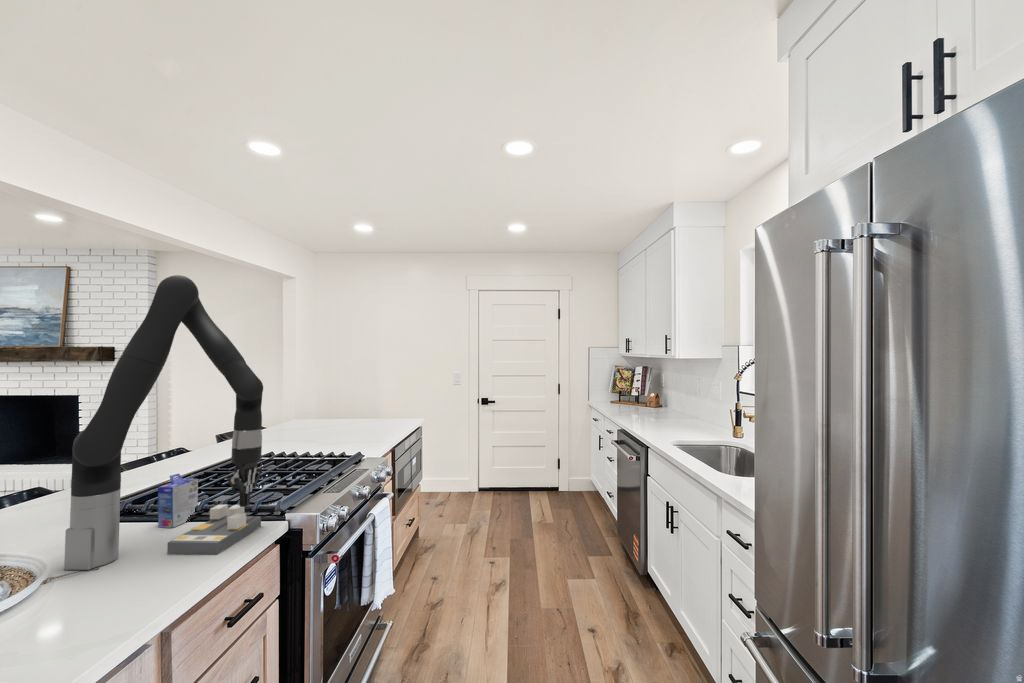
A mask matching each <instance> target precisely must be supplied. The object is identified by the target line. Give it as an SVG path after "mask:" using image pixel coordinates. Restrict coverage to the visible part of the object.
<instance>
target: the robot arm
mask: <svg viewBox="0 0 1024 683" xmlns="http://www.w3.org/2000/svg"><path fill="white" fill-rule="evenodd" d="M199 294H200V293H199V289H198V286H197V285H196V283H195V282H194V281H193V280H192V279H190V278H189V277H188V276H185V275H179V274H178V275H177V274H176V275H171V276H168V277H165V278H164V279H163V280H161V281H160V283H159V284H158V285H157V288H156V290H155V292H154V296H153V299H152V301H151V304H150V306H149V308H148V311H147V313H146V315H145V317H144V319H143V321H142V322H141V324H140V325H139V326H138V329H137V330H135V332H134V334H133V335H132V337H131V338H130V340H129V342H128V343H127V345H126V347H125V349H124V350H123V351H122V353H121V355H120V356H119V358H118V361H117V362H116V364H115V366H114V368H113V370H112V372H111V375H110V377H109V378H108V379H109V380H108V381H107V384H106V388H105V390H104V394H103V397H102V399H101V403H100V404H99V407H98V409H97V410H96V412H95V414H94V415H93V417H92V418H91V419H90V421H89V423H88V424H87V425H86V427H85V428H84V429H83V430H82V431H80V432H79V433H78V434H77V435H76V437H75V438H74V440H73V444H72V449H71V450H72V457H71V458H72V459H71V479H70V480H71V481H70V482H71V483H70V486H71V487H70V509H69V510H70V512H69V528H67V529H65V537H64V540H65V541H64V542H65V543H64V565H63V566H64V567H63V569H64V571H65V570H69V571H70V570H71V571H74V570H75V571H76V570H79V571H89V570H91V569H94V568H97V567H101V566H104V565H108V564H110V563H112V562H114V561H116V560H117V559H118V558H119V555H120V554H119V552H120V551H119V550H120V549H119V547H120V512H121V487H122V486H121V485H122V473H121V472H122V468H121V467H122V466H121V465H122V463H121V462H122V450H123V446H124V443H125V441H126V438H127V435H128V432H129V430H130V427H131V424H132V422H133V420H134V417H135V416H136V414H137V412H138V410H139V409H140V407H141V406H142V404H143V403H144V401H145V400H146V398H148V395H149V394H150V392H151V391H152V389H153V387H154V385H155V383H156V382H157V380H158V378H159V376H160V375H161V372H162V371H163V369H164V366H165V365H166V362H167V360H168V357H169V354H170V351H171V348H172V346H173V342H174V338H175V337H176V336H175V335H176V332H177V330H178V328H179V326H180V325H181V323H182V324H183V325H184V326H185V327H186V329H187V330H188V331H189V332H190V333H191V334H192V336H193V337H194V339H195V340H196V341H197V343H198V344H199V346H200V348H201V349H202V350H203V352H204V353H205V354H206V356H207V357H208V359H209V360H210V361H211V362H212V364H213V365H214V367H215V368H216V369H217V370H218V371H219V372H220V374H222V376H223V377H224V378H225V380H226V381H227V383H228V384H229V386H230V387H231V389H232V390H233V392H234V393H235V414H234V419H233V433H232V439H231V440H232V441H231V459H230V461H231V463H232V464H234V465H235V467H234V470H233V473H234V474H233V476H232V477H229V478H228V479H227V481H228V483H229V485H230V487H231V489H232V490H233V492H234V493H235V494H239V503H238V505H239V506H240V507H245V508H246V507H248V506H250V504H251V492H252V491H253V489H255V488H256V487H257V484H258V482H259V479H260V477H261V475H262V471H263V469H262V468H258V462H260V461H262V452H263V451H262V446H263V445H262V444H263V432H262V428H263V427H262V426H263V425H262V423H263V415H262V414H263V413H262V400H263V391H264V385H263V384H264V383H263V382H262V381H261V379H260V378H259V377H258V375H257V374H255V372H254V371H253V370H252V368H250V366H249V365H248V363H246V360H245V358H244V357H243V355H242V354H241V353H240V352H239V349H237V347H236V346H235V345H234V343H233V342H232V341H231V340H230V339H229V337H228V336H227V335H226V334H225V333H224V331H222V330H221V329H220V327H219V326H217V324H216V323H215V322H214V321H213V319H212V318H211V317H210V315H209V314H208V312H207V311H206V308H205V307H204V305H203V303H202V301H201V300H200V297H199V296H200V295H199Z"/></svg>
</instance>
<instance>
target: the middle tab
mask: <svg viewBox="0 0 1024 683" xmlns="http://www.w3.org/2000/svg"><path fill="white" fill-rule="evenodd" d="M245 508H246V507H240V506H239V504H234V505H232V506H230V507H228V509H227V519H228V517H230V516H232V515H234V514H236V513H245Z"/></svg>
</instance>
